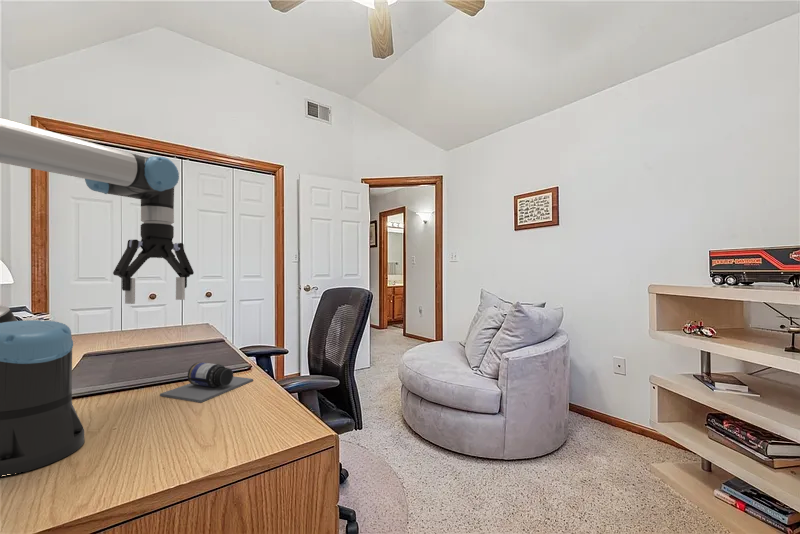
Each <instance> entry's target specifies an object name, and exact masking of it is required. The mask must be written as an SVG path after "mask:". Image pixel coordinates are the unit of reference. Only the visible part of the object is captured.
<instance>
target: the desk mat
mask: <svg viewBox="0 0 800 534" xmlns="http://www.w3.org/2000/svg"><path fill="white" fill-rule="evenodd" d="M253 381H254V378H250V377H241V376H235V375H233V379H232V381H231V383H230V384H229V385H227V386H219V387H216V388H214V387H207V386H200V385H193V384H191V383H190V382H189V383H187V384H184V385H181V386H179V387H176V388H173V389H170V390H167V391H164V392H162V393H160V394H159V396H160V397H165V398H170V399H175V400H183V401H188V402H194V403H200V404H201V403H203V402H207V401H209V400H211V399H214V398H216V397H218V396H220V395H223V394H226V393H228V392H231V391H232V390H233V391H234V390H235V389H237V388H240V387H242V386H244V385H246V384H249V383H252V382H253Z"/></svg>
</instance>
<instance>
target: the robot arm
mask: <svg viewBox="0 0 800 534" xmlns="http://www.w3.org/2000/svg"><path fill="white" fill-rule="evenodd" d="M0 164H6V165H11V166H15V167H23V168H27V169H32V170H37V171H42V172H48V173H53V174H60V175H65V176H70V177H73V178H74V177H75V178H79V179H84V181H85V183H86V186H87V188H89V190H91V191H92V192H93V191H94V192H96V193H97V192H98V193H101V194H104V195H112V196H113V195H114V196H119V197H120V196H121V197H124V198H131V199H137V200H140V221H141V222H142V223H141V224H140V238H141V239H140V240H138V239H128V240H127V244H126V249H125V251H124V253H122V256H121V257H120V259H119V261H118V263H117V265H116V266H115V268H114V270H113V272H112V274H113V275H114V276H117V277H119V278H121V291H124V304H130V305H134V304H136V278H135V277H133V276H134V275H135V274H136V273H137V272H138V271H139V269H140V268H141V267H142V266H143V265H144V264H145V263H146V262H147V261H148V260H149V259H150V258H151V259H154V258H155V259H156V258H157V259H163V260H165V261H166V262H167V263H168V264H169V265H170V267H171V268H172V269H173V270H174V271H175V273H176V274H177V277H176V276H175V300H176V301H178V300H181V301H185V300H186V299H185V298H186V289H187V287H188V278H190V276H191V275H194V269H193V266H192V265H191V262H190V260H189V259H188V256H187V254H186V251H185V247H184V246H185V245H184V243H183V242H175V243H174V242H173V239H174V236H175V235H174V232H175V230H174V229H175V228H174V226H173V225H172V224H174V223H175V209H174V207H175V204H174V203H175V188H176V186H177V184H178V183H179V179H180V176H179V175H180V173H179V170H178V168H177V167H178V166H176V164H175V163H174V162H173V161H172V160H170V159H169V158H167V157H165V156H157V155H156V156H150V157H149V156H148V157H146V156H143V155H139V154H136V153H131V152H127V151H124V150H121V149H116V148H113V147H109V146H106V145H102V144H98V143H94V142H91V141H87V140H84V139H80V138H77V137H73V136H69V135H66V134H63V133H59V132H54V131H50V130H47V129H45V128H42V127H37V126H33V125H29V124H25V123H23V122H18V121H14V120H11V119H7V118H4V117H0ZM139 248H140V249H141V251H140V252H139V253H138V254H137V257H136V258H135V259H134V257H135V255H136V253H137V252H138V249H139ZM172 250H173V251H174V253H175V254H174V253H173V251H172ZM133 259H134V260H133ZM132 260H133V261H132ZM72 337H73V336H72V330H71V329H70V326H68V325H67V324H65V323H63V322H59V321H54V320H40V319H39V320H38V319H35V320H34V319H32V320H31V319H30V320H28V319H27V320H18V319H17V318H16V316H15V315H14V313H13V311H12V310H11V309H10V307H9V306H6V305H1V304H0V476H2V475H7V474H14V475H16V474H15V473H19V474H21V472H23V473H26V472H29V471H33V470H36V469H39V468H42V467H45V466H48V465H50V464H52V463H55V462H58V461H60V460H62V459H64V458H66V457H68V456H70V455H72V454H73V453H75V452H76V451H79V449H80V448H81V447H82V446H83V445H84V444H85V428H84V426H83V424H82V422H81V420H80V418H79V416H78V414H77V411H76V409H75V407H74V404H73V347H74V339H73V338H72Z"/></svg>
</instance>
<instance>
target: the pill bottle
mask: <svg viewBox="0 0 800 534" xmlns="http://www.w3.org/2000/svg"><path fill="white" fill-rule="evenodd" d="M233 376H234V371H233V370H232V369H231V368H230V367H226V366H224V365H223V364H219V363H211V362H210V363H209V362H203V361H202V362H201V361H198V362H196V363H194V364H193V365H191V366H190V368H189V369H188V371H187V380H188V382H189V383H191V384H193V385H200V386H207V387H214V388H216V387H219V386H227V385H229V384H230V383H231V381H232V379H233Z"/></svg>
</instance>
